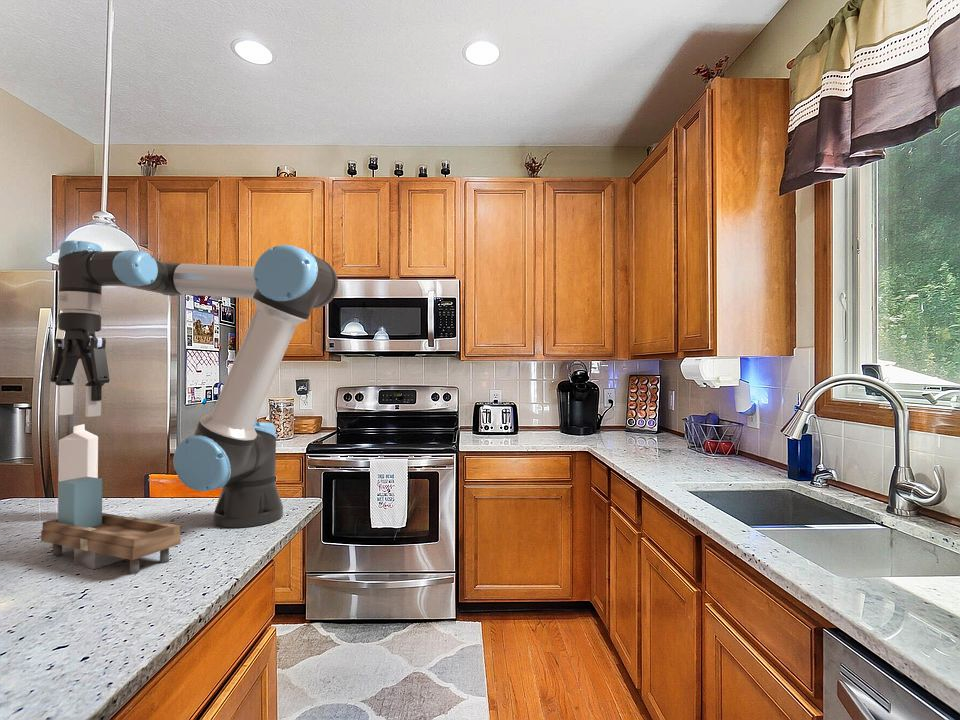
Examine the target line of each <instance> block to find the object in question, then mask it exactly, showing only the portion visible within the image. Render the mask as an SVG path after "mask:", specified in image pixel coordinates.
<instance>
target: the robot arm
mask: <svg viewBox="0 0 960 720" xmlns="http://www.w3.org/2000/svg"><path fill="white" fill-rule="evenodd" d="M57 261H58V272H59V273H58V296H57V300H58V310H60V311H61V312H60V313H58V316H57V318H58V320H57V321H58V326H57V328H58V330H60V331H64V332H65V333H64V337H63V338H55V339H54V354H53V361H52V366H51V374H50V382H51V383H54V384H55V386H57V416H67V415H74V385H75V383H74V382H73V381H72V380H73V377H74V375H75V371H76V368H77V365H78V362H79V360H80V361H81V364H82V367H83V370H84V373H85V376H86V379H87V383H85V384H84V385H85V409H84V410H85V417H86V418H91V417H101V416H102V399H103V398H102V393H103V392H102V391H103V390H102V388H103V386H104V385H105V384H106V383H107V384H109V382H110V379H111V378H110V374H109V373H110V372H109V366H108V359H107V352H106V345H107V343H106V342H107V339H106V338H105V337H97V336H96V332H97V333H98V332H101V330H102V316H101V315H100V314H101V313H102V311H103V309H102V305H103V303H102V302H103V301H102V300H103V299H102V298H103V297H102V293H103V292H102V291H103V289H102V287H111V286H112V287H118V286H119V287H127V288H132V289H137V290H141V291H147V292H152V293H156V294H160V295H163V296H170V297H173V296H174V297H179V296H183V295H185V296H186V295H187V296H200V297H201V296H203V297H221V298H241V299H252V300H253V302H254V306H255V308H256V309H255V313H253V314H254V315H253V316H252V320H251V322H250V324H249V326H248V328H247V330H246V333H245V336H244V338H243V339H242V343H241V345H240V346H239V349H238V351H237V353H236V355H235V358H234V360H233V362H232V365H231V367H230V370H229V372H228V374H227V377H226V378H225V382H224V384H223V386H222V388H221V391H220V394H219V396H218V398H217V400H216V402H215V405H214V407H213V408H212V412H210V413H208V414H206V415H203V416H201V418H200V419H199V421H198V424H197V426H196V428H195V431H194V433H193V435H190V436H188V437H186V438H184V439H183V440H182V441H180V443H179V444H178V445H177V447H176V448H175V450H174V453H173V458H172V459H173V460H172V462H173V468H174V471H175V472H176V474H177V478H178V479H179V480H180V482H181V483H182V484H184V485H185V487H187V488H189V489H191V490H193V491H198V492H209V491H212V490H213V491H214V490H215V491H216V490H219V489H221V491H220V494H219V496H218V500H217V502H216V506H215V508H214V511H213V524H214V525H216V526H218V527H224V528H248V527H250V528H251V527H257V526H261V525H266V524H270V523H273V522H275V521H278V520H280V519H282V517H283V516H284V504H283V502H282V499H281V496H280V493H279V491H278V487H277V484H276V471H277V470H276V467H277V466H276V464H277V463H276V462H277V461H276V460H277V459H276V458H277V457H276V456H277V455H276V454H277V453H276V452H277V437H278V436H277V434H276V427H275V424H274V423H272V422H266V421H265V422H263V421H262V422H261V421H260V422H259V421H256V420H257V418H258V416H259V413H260V411H261V409H262V407H263V405H264V401H265V400H266V398H267V395H268V393H269V390H270V388H271V386H272V384H273V381H274V379H275V377H276V374H277V372H278V370H279V367H280V365H281V363H282V360H283V358H284V356H285V354H286V352H287V349H288V347H289V345H290V342H291V341H292V338H293V335H294V334H295V331H296V328H297V326H298V325H299V324H302V323H305V322H307V321H308V319H309V317H310V315H311V312H312V310H313V309H319V308H322V307H324V306H326V305H328V304H329V303H331V302H332V301H333V299H334V298H335V296H336V294H337V292H338V289H339V281H338V275H337V272H336V271H335V269H334V268H333V267H332V266H331V264H330V263H328V262H327V261H326V260H324V259H322V258H321V257H318V256H316V255H315V254H313V253H311V252H309V251H307V250H305V249H304V248H300V247H299V246H295V245H290V244H280V245H275V246H273V247H270V248H269V249H267V250H265V251H264V252H263V253H262V254H261V255H260V256H259V258H258V259H257V260H256V263H255V265H254V266H247V265H246V266H245V265H244V266H243V265H222V264H202V263H201V264H199V263H180V262H179V263H175V262H165V261H160V260H156V259H155V258H154V257H152V256H151V254H150V253H149V252H146V251H142V250H134V249H127V250H126V249H125V250H107V251H106V250H105V251H103V248H102V246H101V245H100V244H97V243H95V242H90V241H83V240H66V241H63V242H61V244H60V246H59V255H58V258H57Z"/></svg>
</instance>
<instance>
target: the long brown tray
mask: <svg viewBox="0 0 960 720" xmlns="http://www.w3.org/2000/svg"><path fill="white" fill-rule="evenodd" d="M180 528H181V527H180V525H178V524H173V523H166V522H161V521H157V520H156V521H155V520H148V519H142V518H137V517H133V516H124V515H117V514H113V513H112V514H111V513H105V512H102V524H101V525H97V526H93V527H89V528H88V527H82V526H77V525H71V524H66V523H60V522H58V518H55V519H51V520H46V521H42V529H41V531H40V535H41V536H40V541H41V542H43V543H50V544H52V557H53V556H57V557H61V556H63V547H66V548H72V549H73V565H74V564H76V565H75V566H78V565H80V567H83V566H84V568H87V567H88V568H89V569H93V570H96V569H100V568H103V567H106V566H109V565H112V564H114V563H117V562H118V563H119V562H120V561H121V562H122V561H123V560H129V575H135V574H138V572H139V573H140V558H144V557H146V556H148V555H149V556H150V555H153V554H155V553H158V552H159V563H160V564H165V563H168V562H170V548H173V547H176V546H178V545H181V541H182V540H181V534H182V533H181V529H180ZM60 555H61V556H60ZM102 566H103V567H102ZM88 568H87V569H88Z"/></svg>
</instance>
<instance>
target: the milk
mask: <svg viewBox="0 0 960 720" xmlns="http://www.w3.org/2000/svg"><path fill="white" fill-rule="evenodd" d="M85 426H86V425H85V423H83V424H77V425H74V426H73V430H72V433H70V434H68V435H66V436H64V437H63V438H60V439H59V440H58V465H57V466H58V469H57V470H58V472H57V473H58V475H57V476H58V478H57V479H58V480H57V481H58V482H59V481H65V480H70V479H76V478H81V477H93V478H99V475H98V474H99V472H98V471H99V468H98V467H99V436H98V435H96V434H95V433H91V432H89V431H88V430H86V429H85V428H86V427H85Z"/></svg>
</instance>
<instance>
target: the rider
mask: <svg viewBox="0 0 960 720" xmlns="http://www.w3.org/2000/svg"><path fill="white" fill-rule="evenodd" d="M57 494H58V495H57V519H58V522H60V523H66V524H71V525H77V526H82V527H88V528H89V527H93V526H97V525H101V524H102V513H103V478H101V477H100V478H99V477H98V478H93V477H81V478H76V479H70V480H65V481H59V482H58V483H57Z"/></svg>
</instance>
